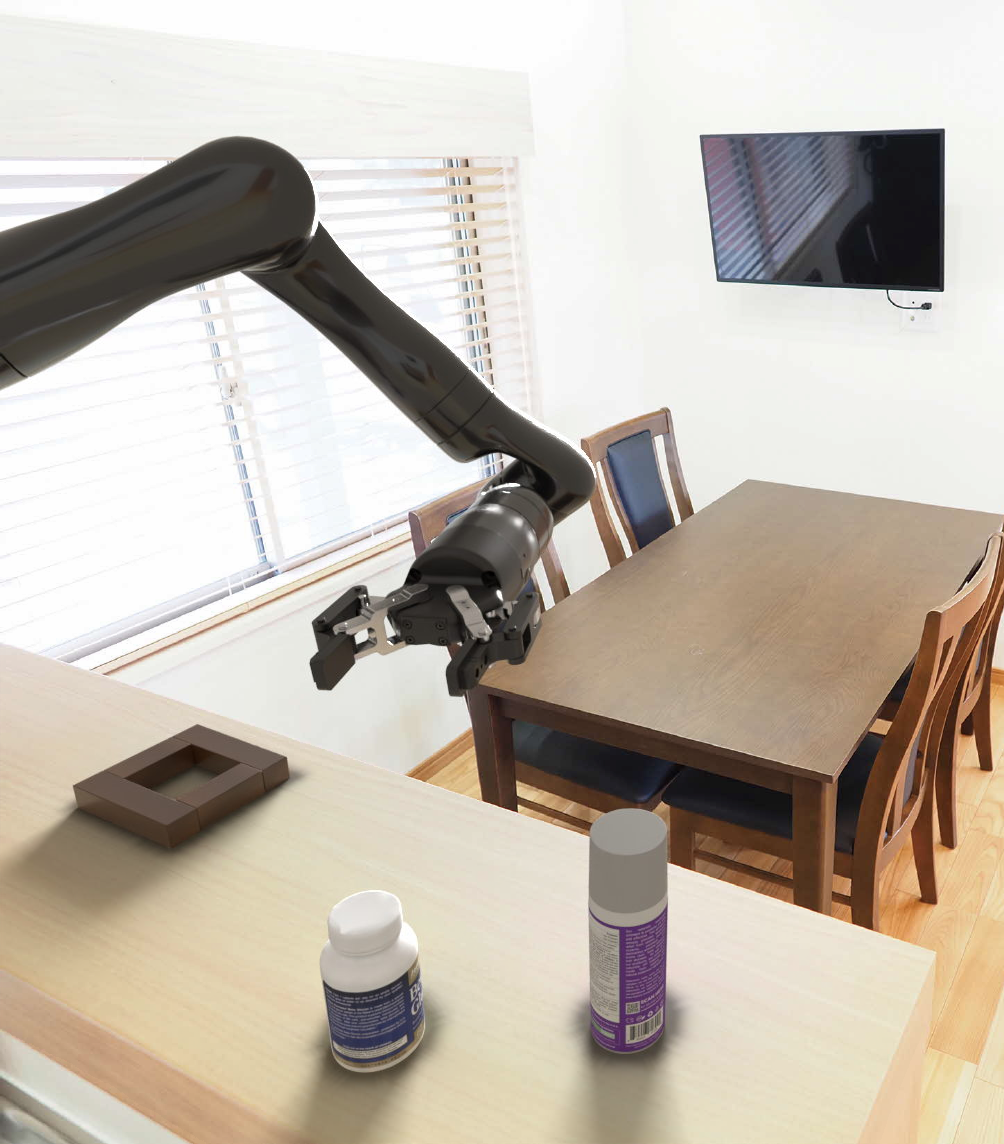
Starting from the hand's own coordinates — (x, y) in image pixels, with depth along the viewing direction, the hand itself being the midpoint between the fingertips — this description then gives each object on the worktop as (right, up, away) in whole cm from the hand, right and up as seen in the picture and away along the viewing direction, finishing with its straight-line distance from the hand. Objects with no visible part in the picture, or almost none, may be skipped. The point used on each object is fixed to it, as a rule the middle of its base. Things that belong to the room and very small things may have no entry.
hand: (386, 681), depth 60 cm
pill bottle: (0, -22, -1) cm, 22 cm away
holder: (-25, -12, +21) cm, 35 cm away
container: (+15, -22, +1) cm, 27 cm away
